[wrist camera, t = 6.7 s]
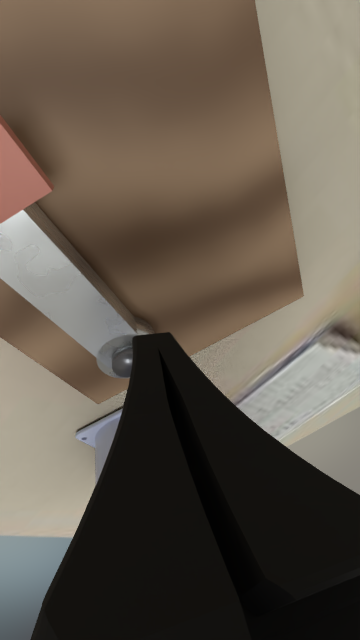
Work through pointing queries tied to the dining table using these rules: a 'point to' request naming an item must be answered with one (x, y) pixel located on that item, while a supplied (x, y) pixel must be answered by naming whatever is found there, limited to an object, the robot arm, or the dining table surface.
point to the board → (150, 167)
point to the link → (67, 290)
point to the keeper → (18, 175)
